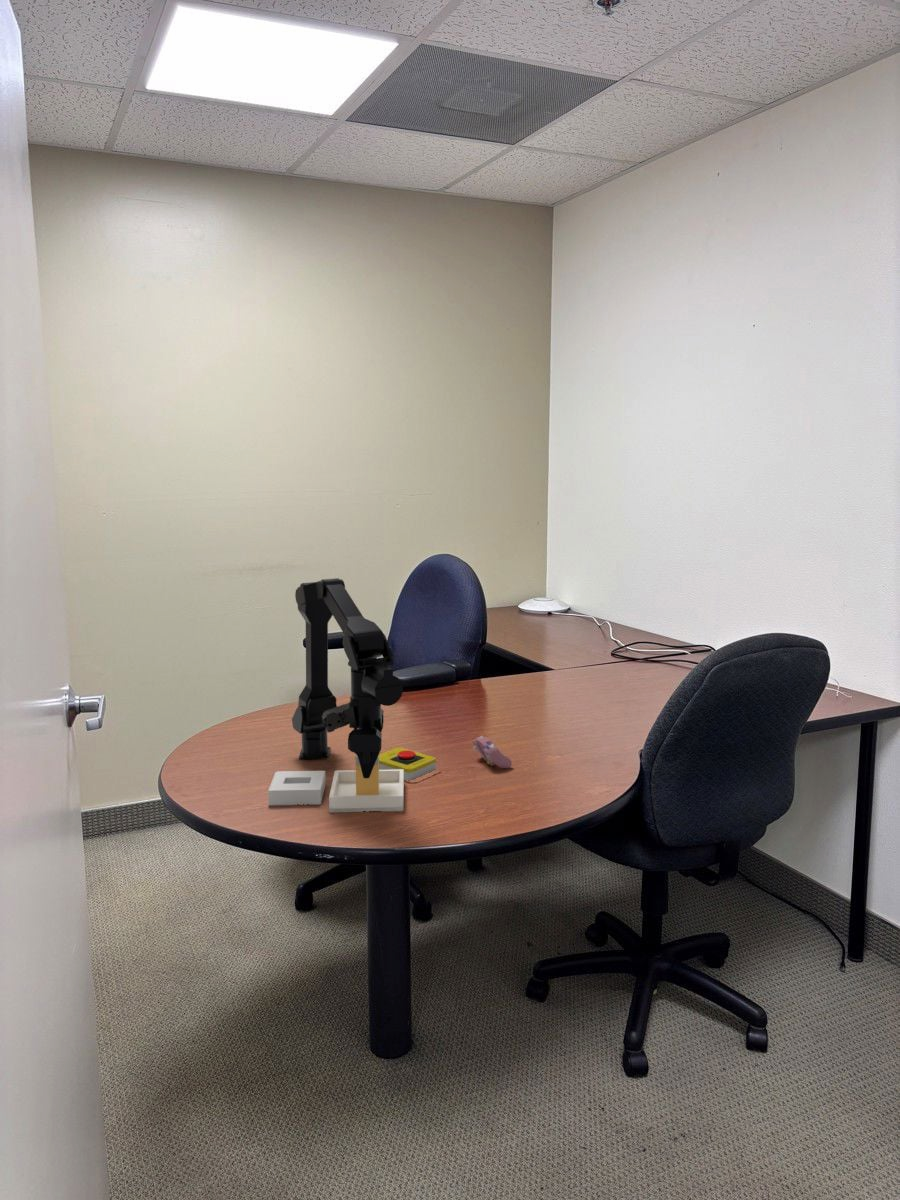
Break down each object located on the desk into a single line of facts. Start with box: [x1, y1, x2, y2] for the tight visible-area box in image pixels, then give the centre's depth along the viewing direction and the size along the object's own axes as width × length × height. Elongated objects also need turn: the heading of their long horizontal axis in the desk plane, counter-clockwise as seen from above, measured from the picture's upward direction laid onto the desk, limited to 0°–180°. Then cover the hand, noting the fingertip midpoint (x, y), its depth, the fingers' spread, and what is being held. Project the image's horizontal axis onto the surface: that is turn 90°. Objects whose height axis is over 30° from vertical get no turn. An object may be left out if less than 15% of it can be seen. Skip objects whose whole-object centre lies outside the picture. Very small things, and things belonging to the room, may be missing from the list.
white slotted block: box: [267, 770, 326, 806], centre depth 175 cm, size 10×10×3 cm
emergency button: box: [379, 747, 438, 781], centre depth 188 cm, size 9×4×15 cm
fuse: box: [354, 754, 380, 795], centre depth 173 cm, size 2×4×8 cm, turn 92°
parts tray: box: [328, 769, 405, 814], centre depth 174 cm, size 14×14×3 cm
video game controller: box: [472, 735, 512, 769], centre depth 192 cm, size 10×5×7 cm, turn 21°
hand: (367, 769), depth 173 cm, fingers open, 9 cm apart
